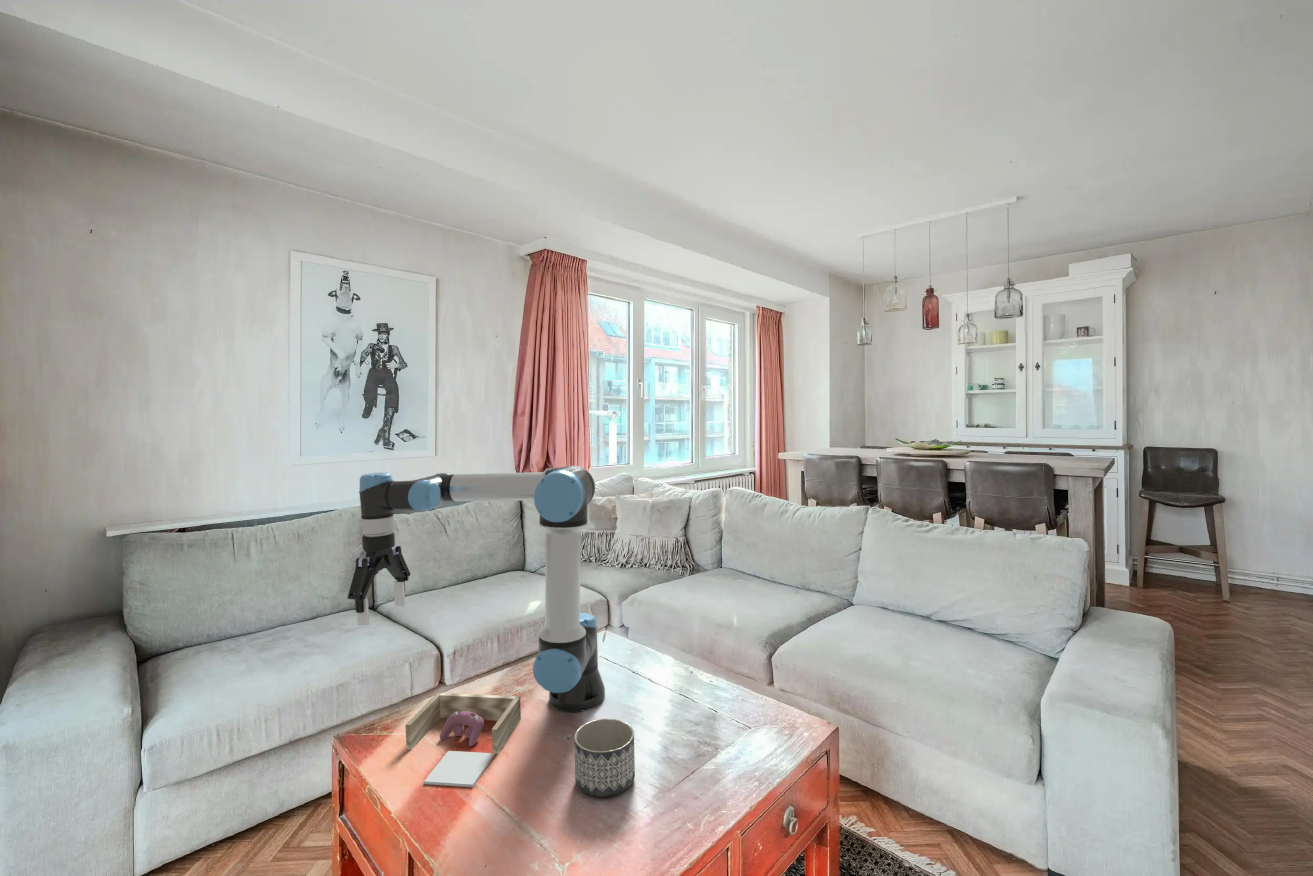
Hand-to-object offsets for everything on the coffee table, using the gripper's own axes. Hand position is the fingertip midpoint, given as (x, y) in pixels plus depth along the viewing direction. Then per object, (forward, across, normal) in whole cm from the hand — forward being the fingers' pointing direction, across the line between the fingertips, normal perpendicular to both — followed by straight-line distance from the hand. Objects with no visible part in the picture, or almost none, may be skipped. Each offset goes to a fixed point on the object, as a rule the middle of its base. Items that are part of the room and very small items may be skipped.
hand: (382, 614), depth 149 cm
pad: (+27, +16, +31) cm, 44 cm away
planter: (+28, +13, +64) cm, 71 cm away
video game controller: (+28, +5, +25) cm, 37 cm away
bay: (+27, +2, +24) cm, 37 cm away
